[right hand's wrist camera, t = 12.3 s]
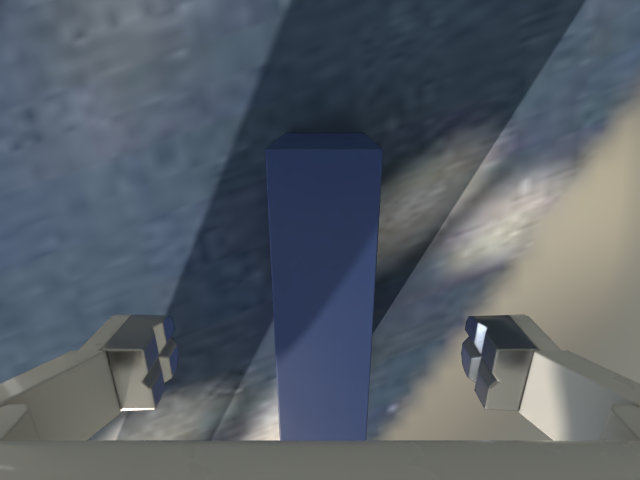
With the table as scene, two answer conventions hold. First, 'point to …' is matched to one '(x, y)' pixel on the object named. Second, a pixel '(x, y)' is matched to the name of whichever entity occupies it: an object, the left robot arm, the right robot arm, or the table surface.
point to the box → (323, 280)
